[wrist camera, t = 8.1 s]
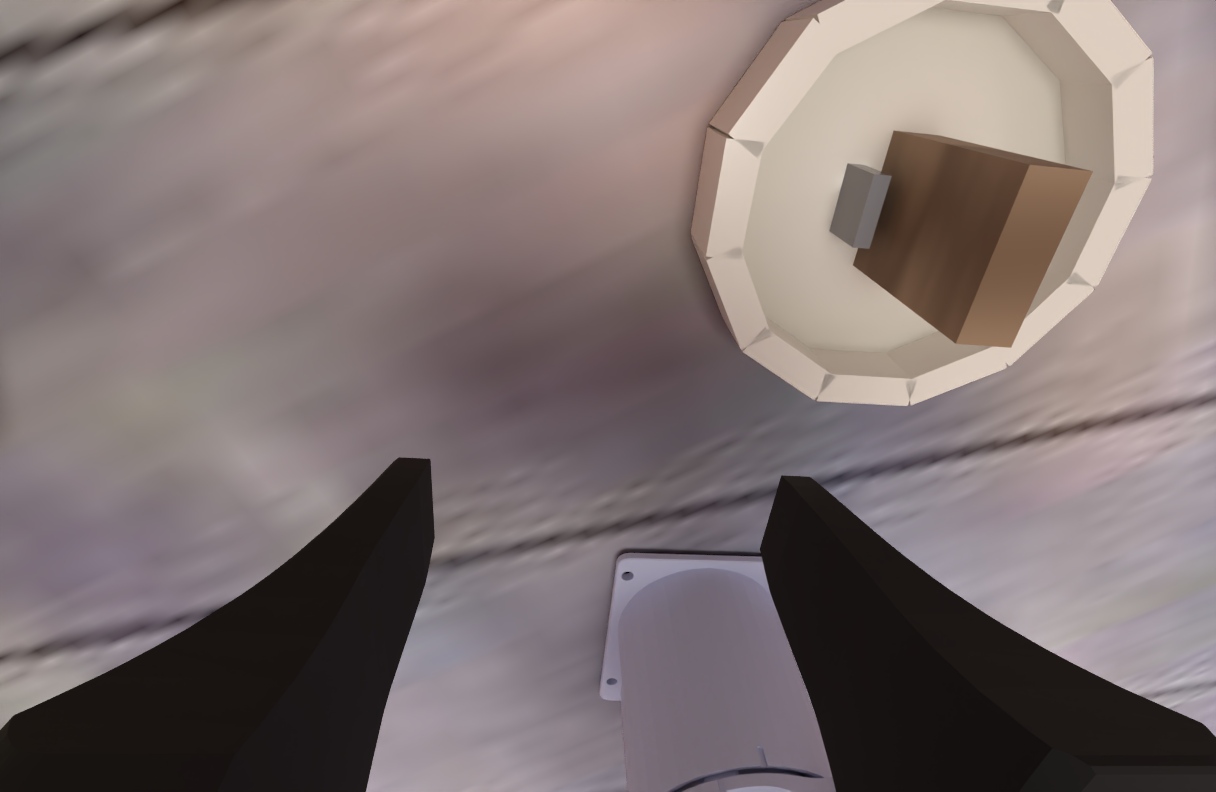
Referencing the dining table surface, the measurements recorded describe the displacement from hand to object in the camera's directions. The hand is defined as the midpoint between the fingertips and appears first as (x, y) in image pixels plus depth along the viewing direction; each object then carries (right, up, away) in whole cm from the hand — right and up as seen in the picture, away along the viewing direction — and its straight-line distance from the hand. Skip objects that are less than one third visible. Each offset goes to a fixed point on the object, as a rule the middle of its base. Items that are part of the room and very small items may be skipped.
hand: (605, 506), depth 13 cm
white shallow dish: (+9, +9, +7) cm, 14 cm away
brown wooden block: (+9, +8, +6) cm, 13 cm away
